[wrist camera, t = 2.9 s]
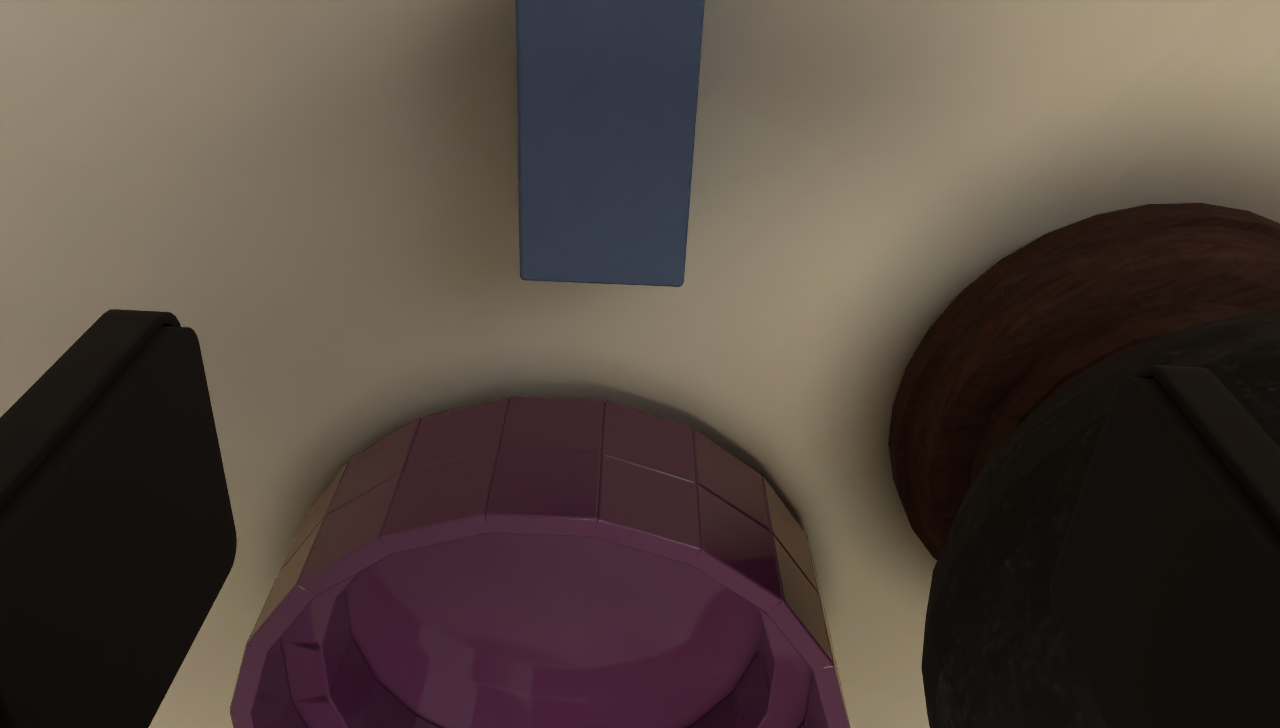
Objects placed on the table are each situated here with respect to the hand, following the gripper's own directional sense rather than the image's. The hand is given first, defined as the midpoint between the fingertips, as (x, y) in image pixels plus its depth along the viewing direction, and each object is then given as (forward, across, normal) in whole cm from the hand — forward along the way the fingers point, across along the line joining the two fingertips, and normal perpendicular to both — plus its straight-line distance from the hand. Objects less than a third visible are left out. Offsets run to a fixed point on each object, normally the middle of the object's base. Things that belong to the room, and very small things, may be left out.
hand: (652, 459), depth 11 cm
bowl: (+12, +2, +14) cm, 18 cm away
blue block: (+12, +1, 0) cm, 12 cm away
